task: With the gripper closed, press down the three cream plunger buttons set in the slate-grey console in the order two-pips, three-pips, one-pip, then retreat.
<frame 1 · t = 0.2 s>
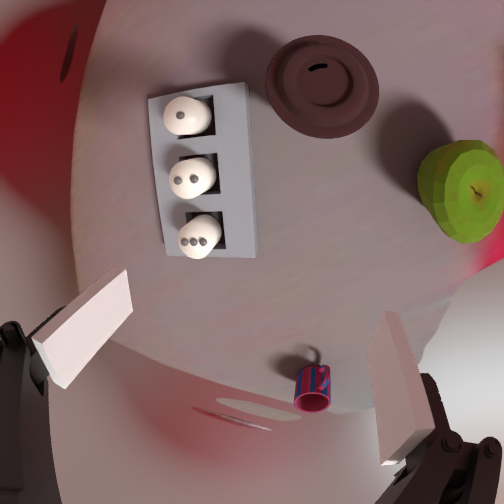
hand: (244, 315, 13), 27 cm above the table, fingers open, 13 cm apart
button 3: (199, 236, 37), point 5 cm above the table, slide at 0.0 cm
button 1: (187, 116, 31), point 5 cm above the table, slide at 0.0 cm
console: (205, 172, 38), on the table
cup: (317, 371, 49), on the table
button 2: (192, 177, 34), point 5 cm above the table, slide at 0.0 cm
apple: (442, 179, 32), on the table
coffee cup: (317, 103, 32), on the table
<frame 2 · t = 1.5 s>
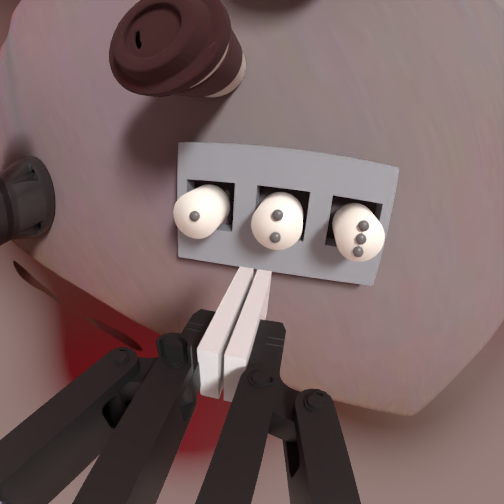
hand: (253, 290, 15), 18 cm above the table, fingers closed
button 3: (357, 231, 27), point 5 cm above the table, slide at 0.0 cm
button 1: (202, 210, 29), point 5 cm above the table, slide at 0.0 cm
console: (282, 208, 32), on the table
button 2: (278, 219, 28), point 5 cm above the table, slide at 0.0 cm
coffee cup: (216, 69, 27), on the table
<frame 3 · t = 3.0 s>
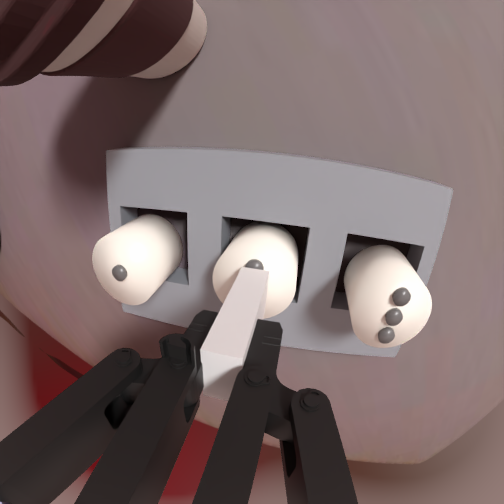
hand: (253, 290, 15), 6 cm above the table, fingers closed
button 3: (385, 296, 15), point 5 cm above the table, slide at 0.0 cm
button 1: (137, 258, 18), point 5 cm above the table, slide at 0.0 cm
console: (266, 248, 21), on the table
button 2: (259, 268, 18), point 3 cm above the table, slide at 1.3 cm, touching gripper
coffee cup: (165, 38, 16), on the table
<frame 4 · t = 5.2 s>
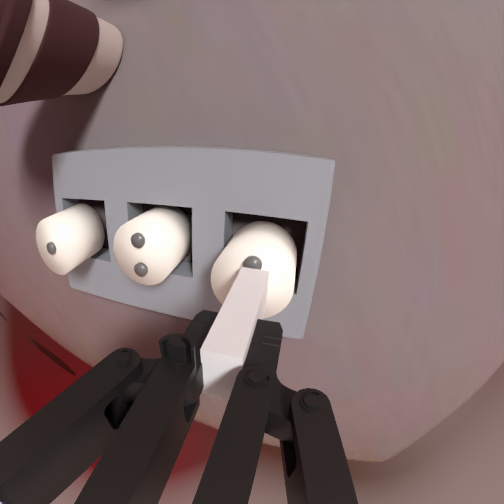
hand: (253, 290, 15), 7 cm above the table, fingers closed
button 3: (257, 268, 18), point 5 cm above the table, slide at 0.1 cm, touching gripper
button 1: (68, 238, 20), point 5 cm above the table, slide at 0.0 cm
console: (171, 229, 23), on the table
button 2: (154, 243, 20), point 3 cm above the table, slide at 1.5 cm
coffee cup: (96, 59, 18), on the table
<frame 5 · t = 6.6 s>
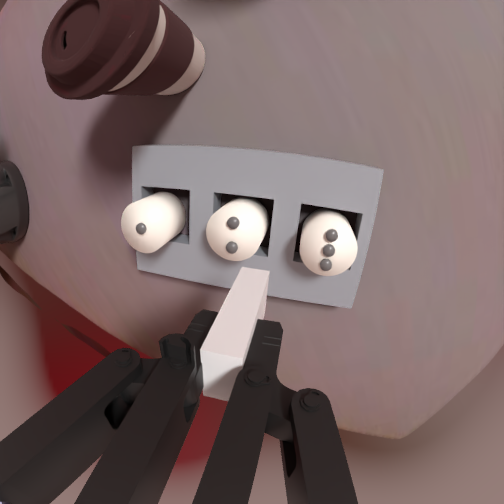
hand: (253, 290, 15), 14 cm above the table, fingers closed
button 3: (327, 241, 24), point 3 cm above the table, slide at 1.5 cm
button 1: (153, 221, 25), point 5 cm above the table, slide at 0.0 cm
console: (246, 218, 28), on the table
button 2: (239, 227, 25), point 3 cm above the table, slide at 1.5 cm
coffee cup: (175, 64, 23), on the table
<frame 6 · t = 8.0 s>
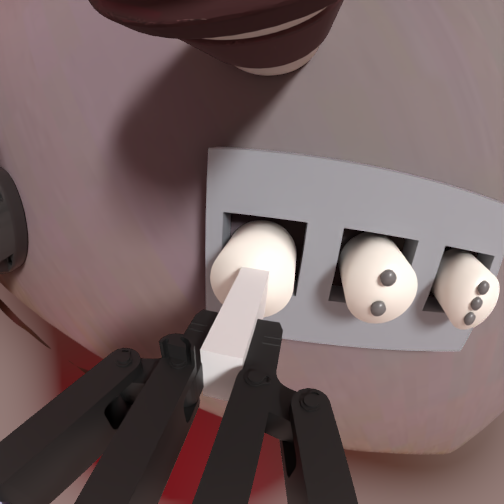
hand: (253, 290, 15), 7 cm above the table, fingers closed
button 3: (464, 288, 16), point 3 cm above the table, slide at 1.5 cm
button 1: (256, 267, 18), point 4 cm above the table, slide at 0.5 cm, touching gripper
console: (367, 257, 20), on the table
button 2: (376, 276, 17), point 3 cm above the table, slide at 1.5 cm
coffee cup: (269, 34, 15), on the table
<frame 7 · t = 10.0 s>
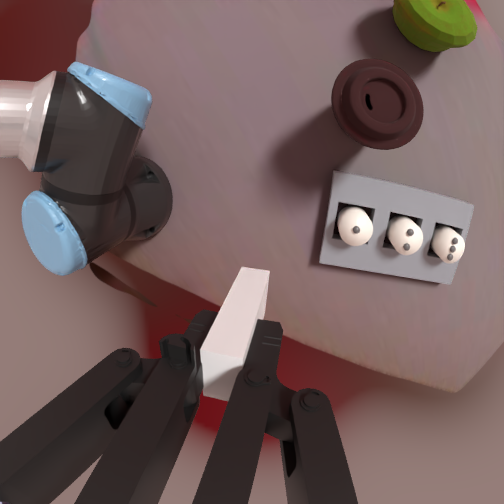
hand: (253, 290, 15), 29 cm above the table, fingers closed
button 3: (447, 243, 35), point 3 cm above the table, slide at 1.5 cm
button 1: (354, 225, 38), point 3 cm above the table, slide at 1.5 cm
console: (398, 228, 39), on the table
button 2: (404, 234, 37), point 3 cm above the table, slide at 1.5 cm
apple: (419, 27, 26), on the table
coffee cup: (359, 115, 35), on the table
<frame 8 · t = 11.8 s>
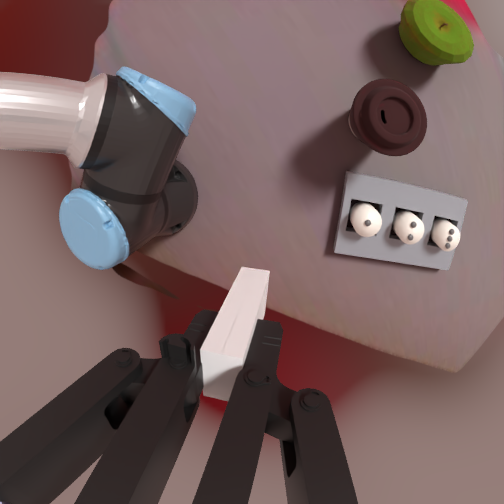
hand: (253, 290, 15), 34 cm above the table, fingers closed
button 3: (444, 234, 41), point 3 cm above the table, slide at 1.5 cm
button 1: (365, 219, 43), point 3 cm above the table, slide at 1.5 cm
console: (402, 221, 45), on the table
button 2: (407, 226, 42), point 3 cm above the table, slide at 1.5 cm
apple: (421, 42, 31), on the table
coffee cup: (368, 122, 40), on the table
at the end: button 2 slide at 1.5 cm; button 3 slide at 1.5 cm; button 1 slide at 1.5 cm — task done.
